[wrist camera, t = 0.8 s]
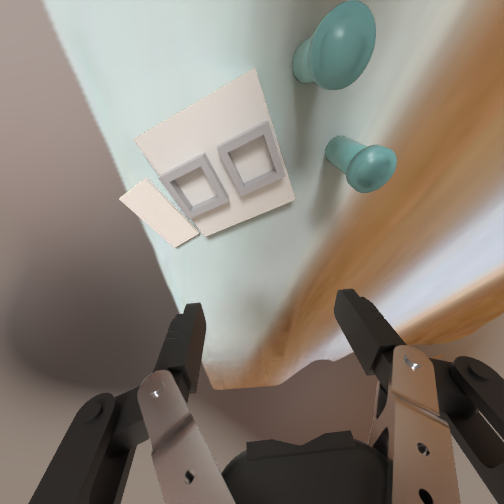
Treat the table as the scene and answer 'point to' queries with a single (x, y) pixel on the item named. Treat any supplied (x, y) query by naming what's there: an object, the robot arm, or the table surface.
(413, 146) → the table surface
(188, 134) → the housing
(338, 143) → the teal round-knobbed peg
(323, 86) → the teal flared handle
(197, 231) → the lid
